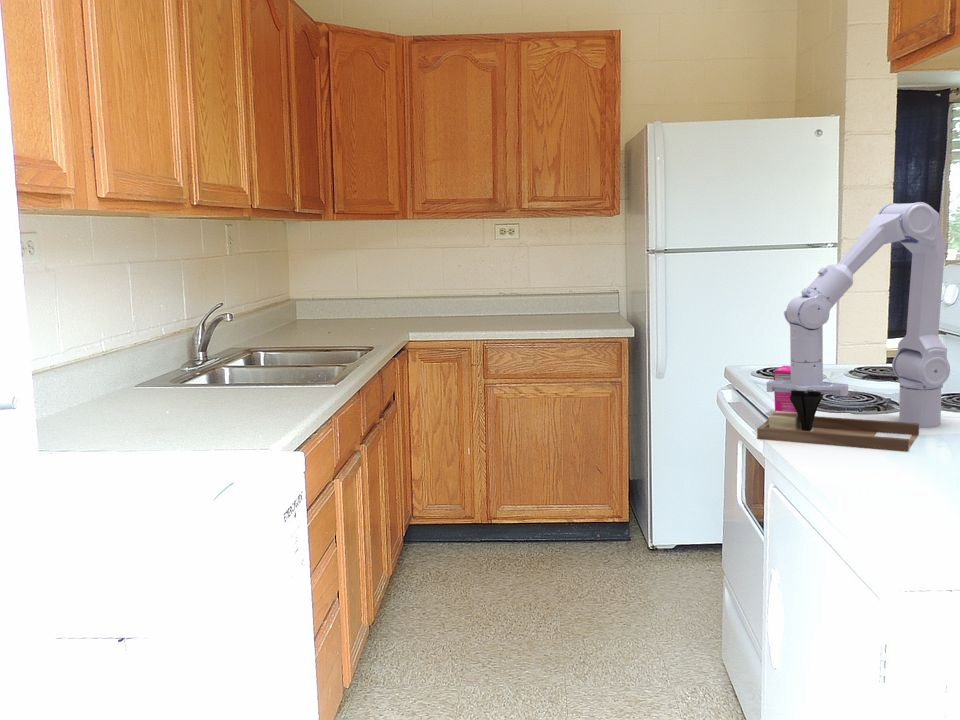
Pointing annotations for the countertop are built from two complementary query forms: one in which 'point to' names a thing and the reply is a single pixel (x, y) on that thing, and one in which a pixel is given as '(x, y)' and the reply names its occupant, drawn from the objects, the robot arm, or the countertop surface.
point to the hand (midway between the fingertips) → (806, 430)
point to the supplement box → (783, 398)
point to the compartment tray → (846, 433)
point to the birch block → (784, 420)
